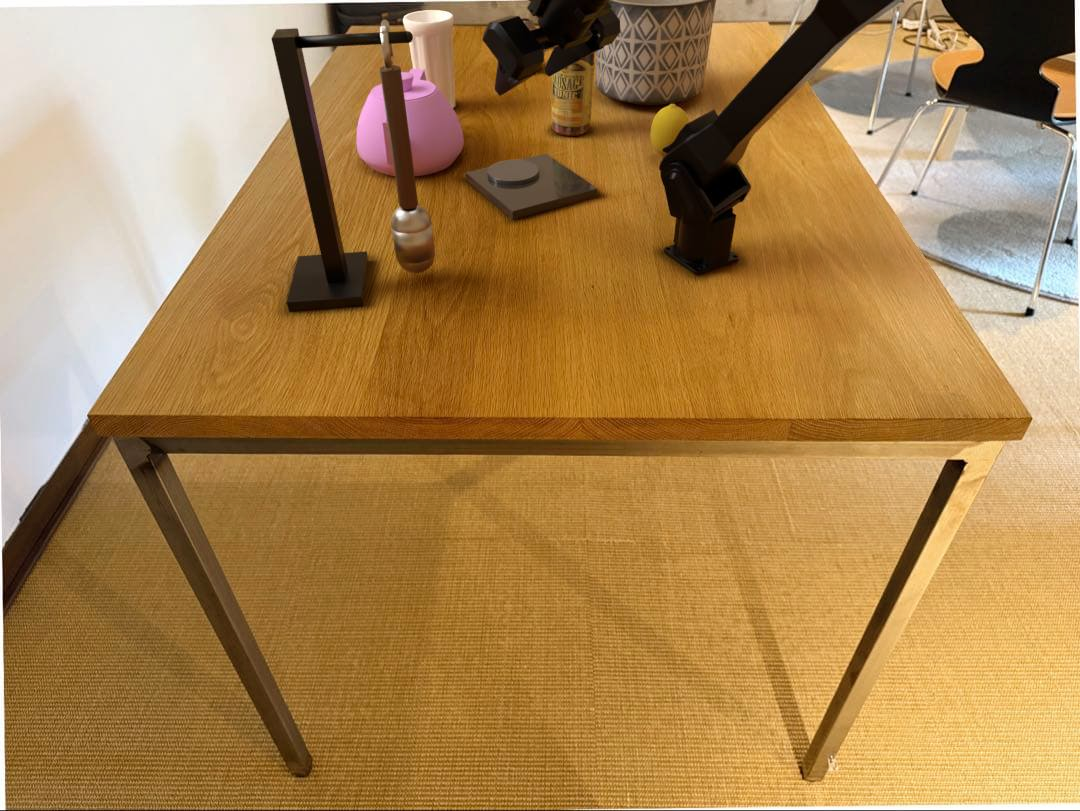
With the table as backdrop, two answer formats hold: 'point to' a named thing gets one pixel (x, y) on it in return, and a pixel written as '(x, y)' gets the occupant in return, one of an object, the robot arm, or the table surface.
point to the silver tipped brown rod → (404, 172)
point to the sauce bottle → (573, 98)
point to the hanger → (320, 179)
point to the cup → (433, 48)
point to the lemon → (667, 127)
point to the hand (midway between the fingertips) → (523, 82)
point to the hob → (530, 185)
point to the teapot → (411, 128)
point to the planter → (656, 51)
